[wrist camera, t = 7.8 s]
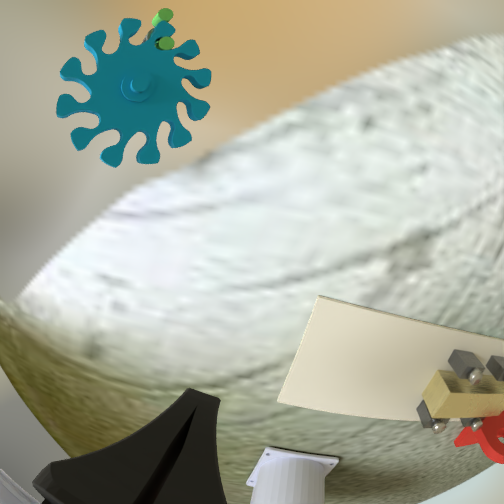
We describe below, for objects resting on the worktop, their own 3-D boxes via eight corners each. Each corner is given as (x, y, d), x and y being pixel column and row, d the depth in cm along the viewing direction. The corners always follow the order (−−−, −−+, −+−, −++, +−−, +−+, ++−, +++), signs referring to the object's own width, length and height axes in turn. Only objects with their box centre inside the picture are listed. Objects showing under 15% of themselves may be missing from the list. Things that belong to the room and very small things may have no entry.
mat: (471, 418, 19) (472, 420, 19) (277, 398, 21) (277, 401, 21) (520, 342, 17) (522, 344, 16) (318, 295, 19) (318, 297, 18)
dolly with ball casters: (470, 410, 19) (481, 430, 15) (416, 408, 19) (425, 434, 16) (505, 356, 17) (521, 375, 14) (454, 349, 18) (471, 371, 14)
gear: (188, 186, 17) (29, 148, 10) (158, 180, 21) (40, 152, 15) (241, 39, 15) (111, -17, 9) (202, 60, 20) (97, 22, 13)
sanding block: (487, 397, 18) (499, 415, 15) (421, 394, 19) (432, 418, 16) (501, 375, 17) (514, 393, 14) (437, 369, 18) (450, 392, 15)
